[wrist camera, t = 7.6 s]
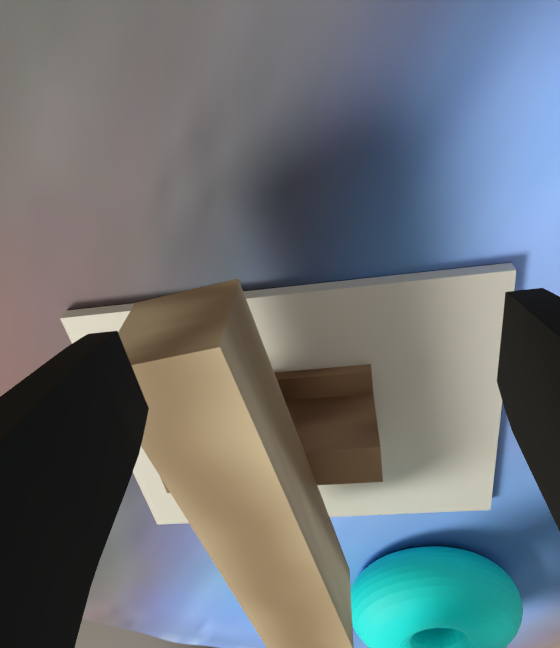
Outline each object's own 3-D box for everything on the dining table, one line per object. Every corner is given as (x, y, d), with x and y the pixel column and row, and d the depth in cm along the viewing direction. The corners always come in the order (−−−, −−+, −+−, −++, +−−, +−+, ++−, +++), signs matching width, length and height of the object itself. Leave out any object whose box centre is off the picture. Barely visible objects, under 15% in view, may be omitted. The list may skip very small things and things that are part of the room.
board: (511, 262, 19) (516, 270, 19) (487, 500, 27) (490, 509, 26) (66, 310, 22) (60, 318, 21) (160, 515, 29) (157, 524, 29)
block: (370, 364, 21) (378, 424, 19) (376, 437, 24) (384, 501, 21) (166, 381, 23) (144, 440, 20) (191, 449, 25) (174, 510, 22)
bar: (238, 278, 15) (219, 347, 13) (349, 569, 24) (353, 650, 21) (135, 302, 16) (95, 372, 13) (277, 576, 25) (272, 656, 22)
